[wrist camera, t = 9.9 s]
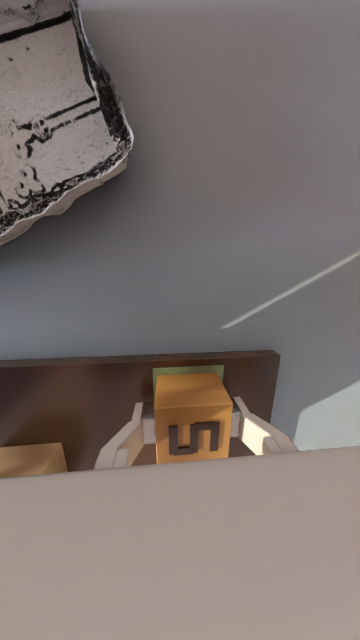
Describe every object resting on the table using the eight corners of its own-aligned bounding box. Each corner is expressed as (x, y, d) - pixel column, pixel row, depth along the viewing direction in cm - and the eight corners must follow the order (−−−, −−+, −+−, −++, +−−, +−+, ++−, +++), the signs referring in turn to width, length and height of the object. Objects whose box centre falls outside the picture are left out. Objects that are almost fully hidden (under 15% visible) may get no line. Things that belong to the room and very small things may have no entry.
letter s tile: (216, 372, 12) (234, 404, 9) (214, 420, 13) (228, 465, 10) (157, 374, 12) (153, 409, 9) (159, 424, 13) (156, 471, 10)
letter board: (272, 349, 14) (320, 381, 9) (256, 462, 16) (287, 524, 12) (-86, 363, 12) (-227, 411, 7) (-31, 488, 15) (-110, 572, 10)
